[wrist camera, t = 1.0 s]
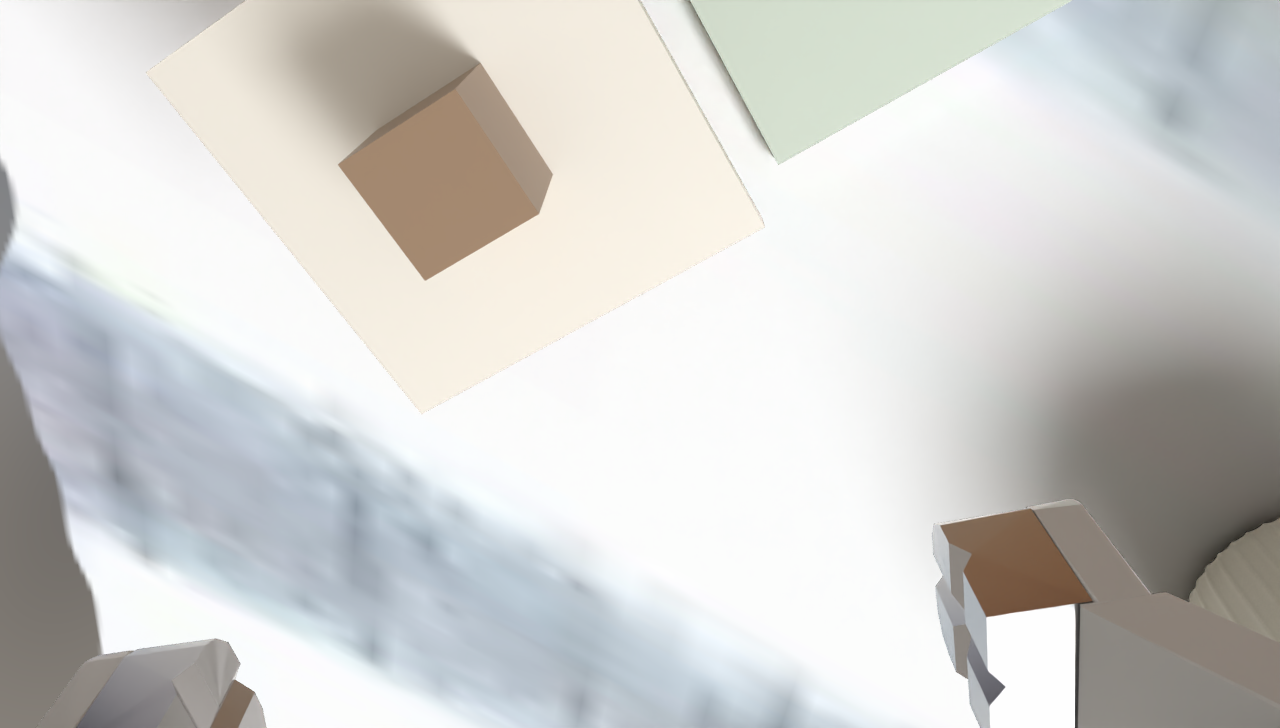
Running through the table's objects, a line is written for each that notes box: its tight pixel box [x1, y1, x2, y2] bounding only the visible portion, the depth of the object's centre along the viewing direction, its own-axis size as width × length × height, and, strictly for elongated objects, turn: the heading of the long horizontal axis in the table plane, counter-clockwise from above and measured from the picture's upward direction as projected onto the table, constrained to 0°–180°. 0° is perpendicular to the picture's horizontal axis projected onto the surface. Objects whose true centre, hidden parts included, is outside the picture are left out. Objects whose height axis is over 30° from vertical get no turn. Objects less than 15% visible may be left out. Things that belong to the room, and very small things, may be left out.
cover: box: [146, 0, 765, 414], centre depth 28 cm, size 14×14×5 cm
